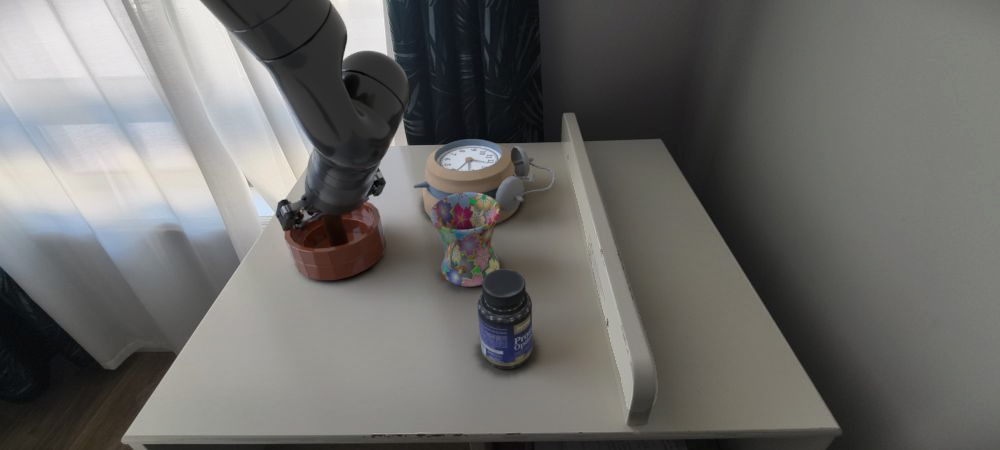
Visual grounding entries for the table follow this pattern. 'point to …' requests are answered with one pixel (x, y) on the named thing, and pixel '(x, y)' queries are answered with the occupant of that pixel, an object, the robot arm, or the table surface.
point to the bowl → (341, 260)
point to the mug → (467, 236)
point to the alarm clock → (478, 174)
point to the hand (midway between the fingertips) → (327, 213)
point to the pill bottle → (505, 319)
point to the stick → (335, 229)
